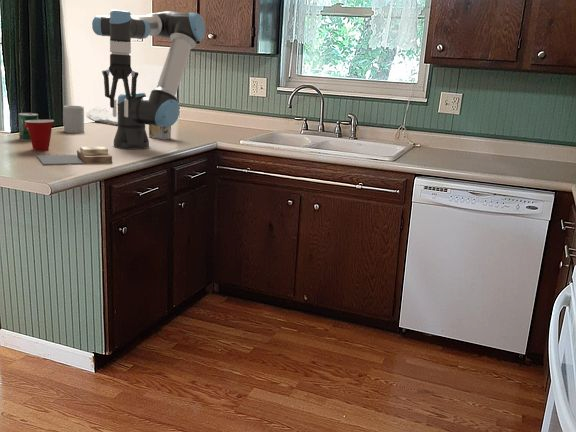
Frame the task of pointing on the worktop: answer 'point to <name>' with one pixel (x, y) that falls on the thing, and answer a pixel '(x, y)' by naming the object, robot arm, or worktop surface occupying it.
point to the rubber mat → (59, 159)
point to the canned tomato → (25, 125)
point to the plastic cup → (40, 133)
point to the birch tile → (93, 150)
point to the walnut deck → (94, 158)
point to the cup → (74, 119)
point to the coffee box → (159, 132)
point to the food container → (102, 116)
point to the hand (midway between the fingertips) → (120, 116)
